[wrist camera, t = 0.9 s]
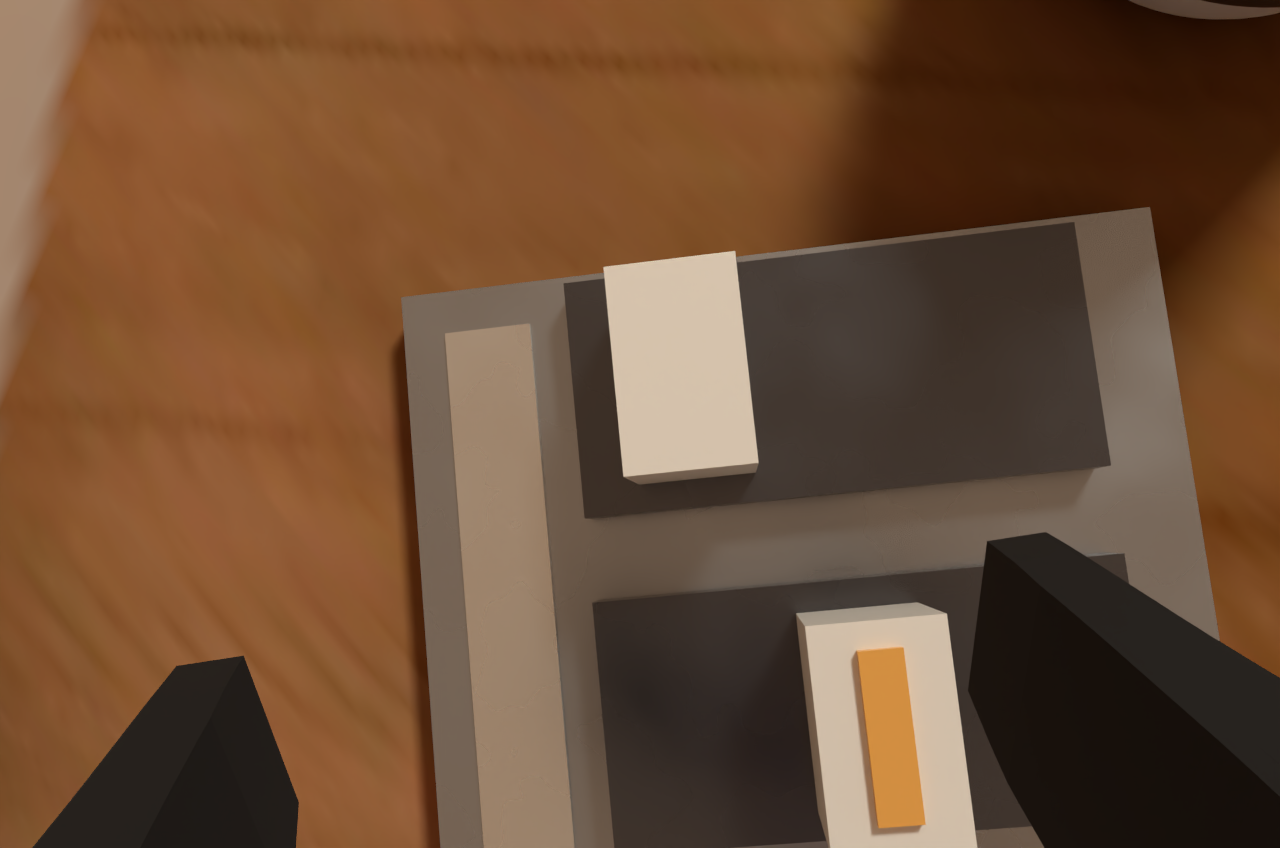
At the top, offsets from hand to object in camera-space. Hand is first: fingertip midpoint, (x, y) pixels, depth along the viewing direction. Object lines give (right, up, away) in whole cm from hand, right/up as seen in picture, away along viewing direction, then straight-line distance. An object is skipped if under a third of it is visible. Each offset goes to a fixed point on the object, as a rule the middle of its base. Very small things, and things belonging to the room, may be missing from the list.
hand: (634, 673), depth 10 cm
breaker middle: (+5, -3, +11) cm, 12 cm away
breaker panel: (+4, -4, +13) cm, 14 cm away
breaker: (+1, +3, +12) cm, 12 cm away
